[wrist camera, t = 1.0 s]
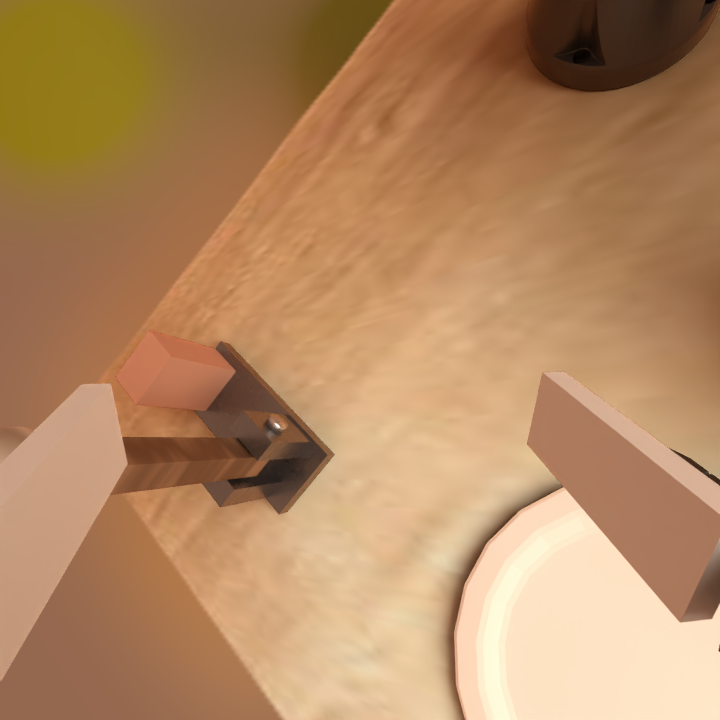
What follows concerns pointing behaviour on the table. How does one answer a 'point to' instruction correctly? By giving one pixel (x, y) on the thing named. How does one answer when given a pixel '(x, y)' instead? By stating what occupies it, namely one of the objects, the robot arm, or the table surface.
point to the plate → (575, 630)
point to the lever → (166, 460)
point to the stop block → (174, 373)
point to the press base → (263, 439)
